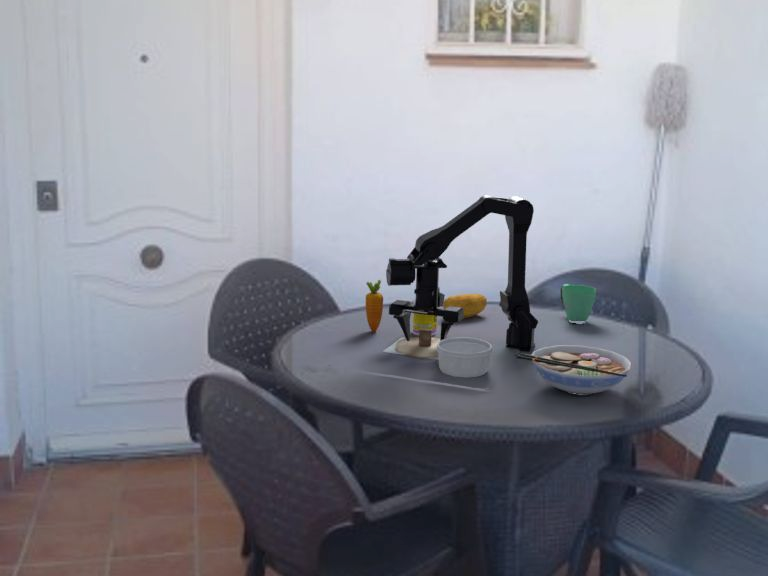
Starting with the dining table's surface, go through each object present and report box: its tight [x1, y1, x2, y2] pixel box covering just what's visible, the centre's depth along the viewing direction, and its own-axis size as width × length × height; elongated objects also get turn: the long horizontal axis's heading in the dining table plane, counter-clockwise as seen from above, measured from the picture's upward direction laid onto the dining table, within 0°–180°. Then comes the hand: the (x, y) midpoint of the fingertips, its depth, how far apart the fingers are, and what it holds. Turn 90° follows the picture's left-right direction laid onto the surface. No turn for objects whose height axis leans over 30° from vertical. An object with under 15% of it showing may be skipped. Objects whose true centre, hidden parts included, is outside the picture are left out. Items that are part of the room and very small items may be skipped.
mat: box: [382, 336, 439, 361], centre depth 240 cm, size 18×14×1 cm
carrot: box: [365, 279, 384, 333], centre depth 253 cm, size 5×5×15 cm
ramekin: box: [437, 336, 493, 379], centre depth 224 cm, size 13×13×7 cm
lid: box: [396, 329, 440, 359], centre depth 240 cm, size 15×15×5 cm
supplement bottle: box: [411, 297, 438, 337], centre depth 253 cm, size 7×7×13 cm
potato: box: [442, 293, 487, 319], centre depth 272 cm, size 7×14×7 cm, turn 118°
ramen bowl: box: [515, 344, 632, 395], centre depth 213 cm, size 25×23×8 cm
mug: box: [560, 283, 598, 322], centre depth 272 cm, size 15×10×10 cm
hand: (425, 343), depth 240 cm, fingers open, 9 cm apart
